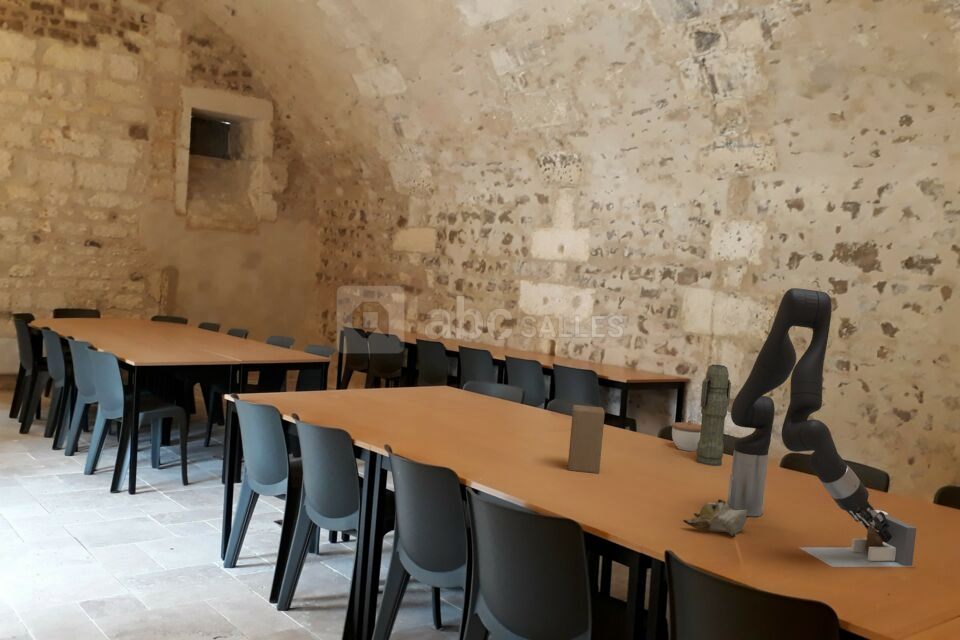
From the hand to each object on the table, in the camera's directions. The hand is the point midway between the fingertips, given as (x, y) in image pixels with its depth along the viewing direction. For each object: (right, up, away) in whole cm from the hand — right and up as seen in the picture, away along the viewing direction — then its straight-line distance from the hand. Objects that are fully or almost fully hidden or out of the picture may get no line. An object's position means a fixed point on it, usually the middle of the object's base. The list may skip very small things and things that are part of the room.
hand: (882, 536), depth 202 cm
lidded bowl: (-17, +2, +120) cm, 121 cm away
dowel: (-2, -4, 0) cm, 4 cm away
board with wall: (-7, -6, -1) cm, 9 cm away
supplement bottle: (+5, -6, +15) cm, 17 cm away
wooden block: (-63, +3, +73) cm, 97 cm away
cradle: (-2, -4, 0) cm, 5 cm away
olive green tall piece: (-15, +1, +98) cm, 99 cm away
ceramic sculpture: (-36, -3, +15) cm, 39 cm away
